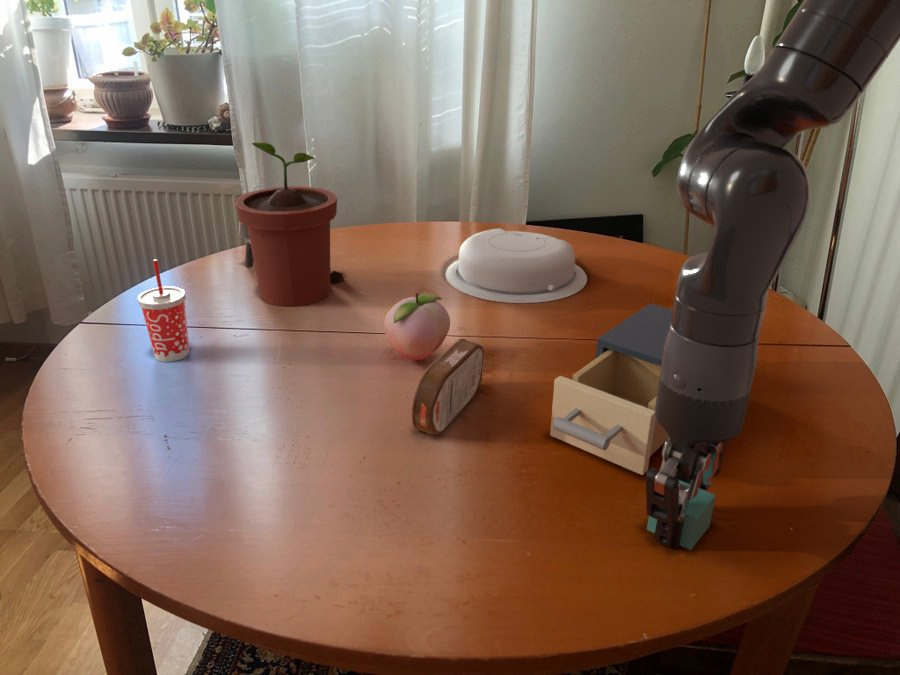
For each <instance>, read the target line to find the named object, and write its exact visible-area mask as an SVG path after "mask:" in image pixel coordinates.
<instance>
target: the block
mask: <svg viewBox="0 0 900 675" xmlns="http://www.w3.org/2000/svg"><path fill="white" fill-rule="evenodd" d="M679 483H680V484H682V485H685V486H687V487H690V484H688V483H685V482H683V481H680V480H679ZM716 496H717V495H716V494H714V493H711V492H710V491H708V490H706V491H705V490H702V489H700V488H699V490H698V494H697V496H696V497H694V498H693V499H691V500H689V504H688V507H687V511H686V516H685V518H684V522H683V527H682V533H681V538H680V544H679V546H680V547H683V548H684V549H686V550H688V551H692V550H693V549H694V547H695V546H696V545H697V543H698V542H699V541H700V539H701V538H702V537H703V536H704V534H706V531H707V530H708V529H709V528H710V526H711V522H712V516H713V512H714V507H715V501H716ZM679 502H680V497H679ZM656 524H657V519H655V518H653V517H650V516H648V519H647V526H646V530H647V531H649V532H651V533H652V534H655V530H656Z"/></svg>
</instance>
